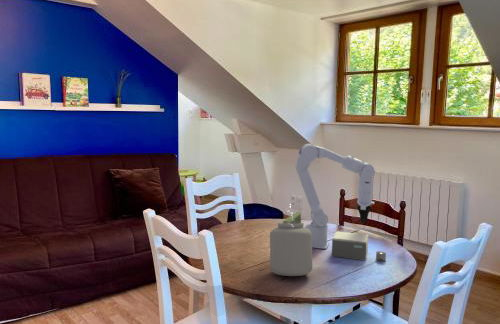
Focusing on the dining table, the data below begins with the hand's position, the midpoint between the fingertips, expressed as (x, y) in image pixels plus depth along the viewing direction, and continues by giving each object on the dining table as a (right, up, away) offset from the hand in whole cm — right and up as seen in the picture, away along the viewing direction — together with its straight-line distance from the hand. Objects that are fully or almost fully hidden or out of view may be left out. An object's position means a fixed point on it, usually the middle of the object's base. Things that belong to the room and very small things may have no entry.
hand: (363, 222), depth 176 cm
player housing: (-8, -12, -9) cm, 16 cm away
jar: (-34, -14, -29) cm, 47 cm away
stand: (+2, -12, -15) cm, 20 cm away
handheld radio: (-29, -8, +24) cm, 39 cm away
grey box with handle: (-8, -11, -10) cm, 17 cm away
